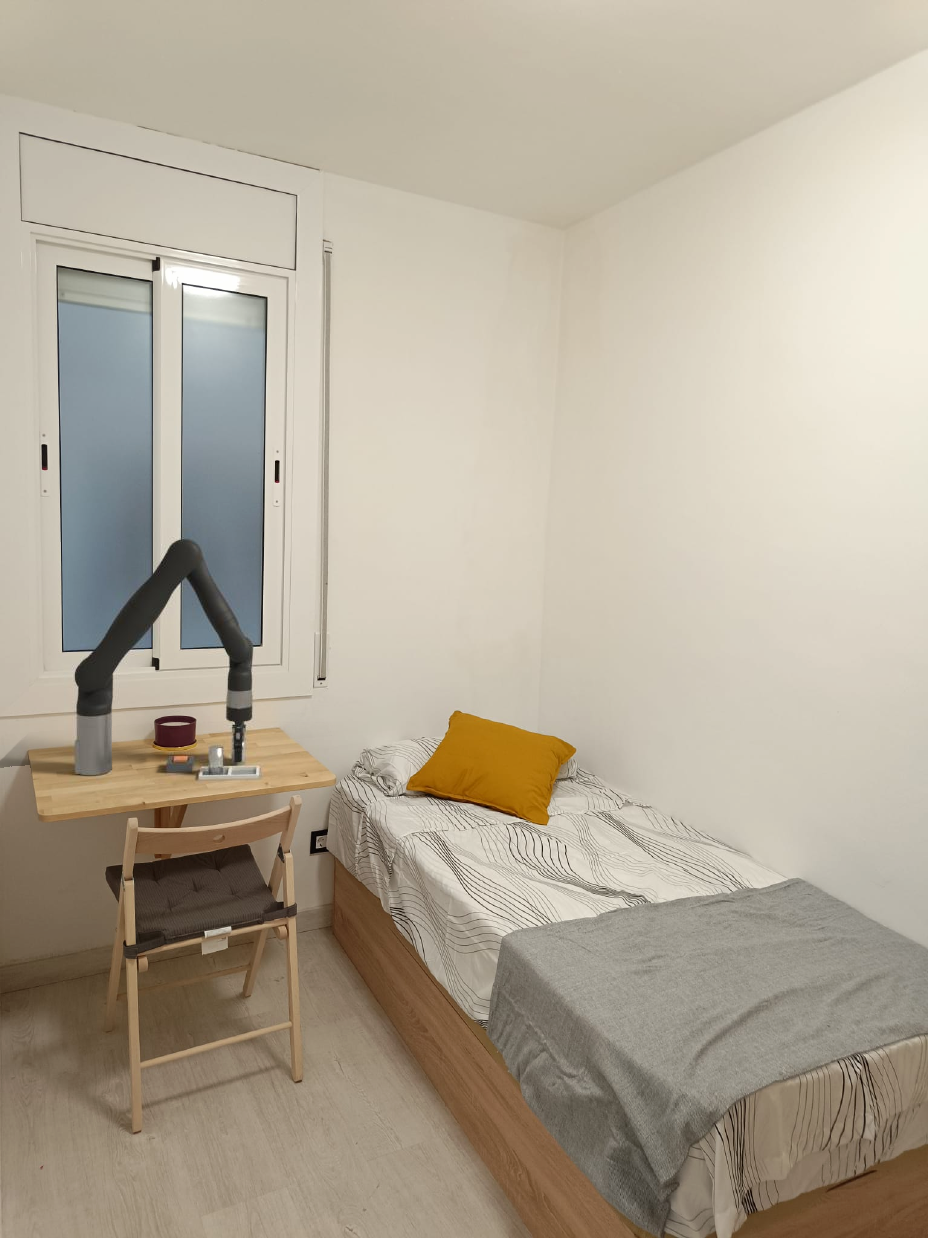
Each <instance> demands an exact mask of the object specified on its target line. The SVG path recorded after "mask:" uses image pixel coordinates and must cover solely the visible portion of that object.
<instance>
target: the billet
mask: <svg viewBox="0 0 928 1238" xmlns="http://www.w3.org/2000/svg"><path fill="white" fill-rule="evenodd" d="M232 739H233V737H232V738H231V759H230V760H231V764H232V765H233V766H244V764H246V746H247V745H246V740H247V739H246V737H245V739H244V742H243V749H242V762H234V749H233V747H234V742H233V741H232ZM242 739H243V737H242ZM236 746H241V744H236Z"/></svg>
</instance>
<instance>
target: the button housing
mask: <svg viewBox="0 0 928 1238" xmlns="http://www.w3.org/2000/svg"><path fill="white" fill-rule="evenodd" d="M175 756H176V755H173V756H172V755H169V756H168V759H167V761H166V767H165V768H166V774H192V773H193V771H194V767H195V755H187V756H188V762H173V760H174V757H175Z"/></svg>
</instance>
